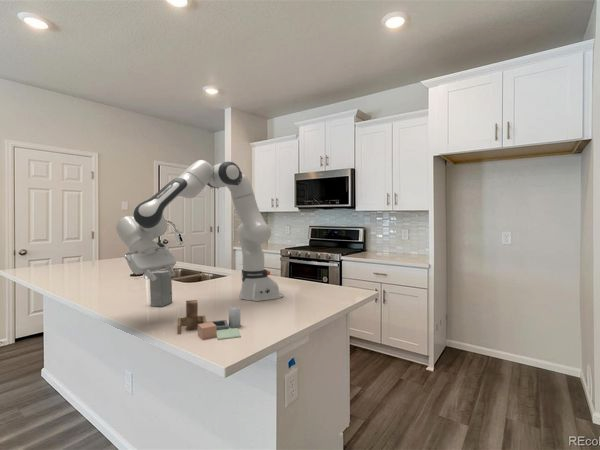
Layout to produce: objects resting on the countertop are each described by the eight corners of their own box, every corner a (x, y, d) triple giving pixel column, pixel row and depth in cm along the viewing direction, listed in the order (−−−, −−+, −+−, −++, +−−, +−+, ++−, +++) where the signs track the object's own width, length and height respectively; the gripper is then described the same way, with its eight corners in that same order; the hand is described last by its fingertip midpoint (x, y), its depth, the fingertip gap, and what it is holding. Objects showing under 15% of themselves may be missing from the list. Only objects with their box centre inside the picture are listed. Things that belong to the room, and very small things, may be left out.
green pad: (237, 329, 122) (237, 328, 122) (241, 337, 115) (241, 335, 115) (215, 331, 120) (215, 330, 119) (217, 339, 112) (217, 338, 112)
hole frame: (226, 323, 128) (226, 319, 128) (228, 330, 121) (228, 326, 121) (206, 325, 126) (206, 321, 126) (207, 332, 119) (207, 328, 119)
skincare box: (162, 307, 150) (162, 273, 150) (148, 306, 152) (148, 272, 151) (173, 302, 158) (173, 269, 158) (160, 301, 160) (159, 269, 159)
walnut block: (197, 325, 126) (197, 299, 126) (197, 329, 122) (197, 302, 122) (186, 326, 125) (186, 300, 124) (186, 330, 121) (186, 303, 121)
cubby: (204, 322, 130) (204, 314, 130) (206, 330, 120) (206, 322, 120) (178, 325, 126) (177, 317, 126) (177, 334, 117) (177, 325, 117)
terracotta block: (211, 332, 119) (211, 321, 119) (216, 337, 115) (216, 325, 115) (197, 335, 116) (197, 324, 116) (202, 340, 112) (202, 328, 112)
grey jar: (239, 323, 129) (239, 306, 128) (241, 327, 124) (241, 309, 124) (228, 324, 127) (228, 307, 127) (229, 328, 123) (229, 310, 123)
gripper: (127, 247, 119) (148, 276, 116) (167, 243, 139) (186, 268, 136) (117, 259, 121) (138, 288, 118) (159, 253, 140) (177, 278, 137)
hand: (164, 277), depth 127 cm, fingers open, 8 cm apart
